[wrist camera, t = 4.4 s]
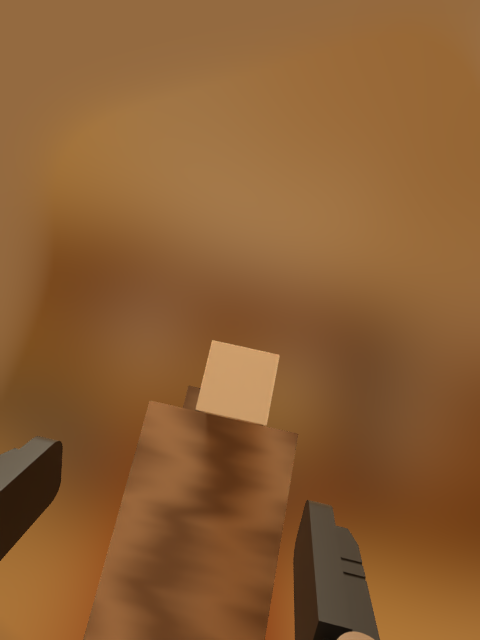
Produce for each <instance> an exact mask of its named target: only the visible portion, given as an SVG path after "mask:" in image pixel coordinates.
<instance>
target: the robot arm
mask: <svg viewBox="0 0 480 640" xmlns="http://www.w3.org/2000/svg"><path fill="white" fill-rule="evenodd" d="M61 468H62V443H61V442H60V441H57V440H52V439H49V438H44V437H40V436H37V437H35V438H33V439H32V440H31V441H29V442H28V443H27V444H25V445H24V446H23V447H22V448H20V449H16V448H15V449H12V450H10V451H8V452H5V453H4V454H1V455H0V561H1V559H2V558H3V557H4V556H5V555H6V554H7V553H8V551H9V550H10V549H11V548H12V547H13V546H14V545H15V543H16V542H17V541H18V540H19V539H20V538H21V537H22V535H23V534H24V533H25V532H26V531H27V530H28V529H29V527H30V526H31V525H32V524H33V523H34V522H35V521H36V519H37V518H38V517H39V516H40V515H41V514H42V513H43V512H44V510H45V509H46V508H47V507H48V506H49V504H51V502H52V501H53V500H54V498H55V496H56V494H57V492H58V490H59V487H60V483H61ZM293 564H294V609H295V610H294V612H295V613H294V614H295V640H380V638H379V634H378V630H377V625H376V621H375V616H374V612H373V608H372V604H371V599H370V595H369V591H368V586H367V582H366V581H365V573H364V569H363V566H362V560H361V555H360V551H359V547H358V544H357V542H356V541H355V539H354V538H353V536H352V535H351V533H350V532H349V530H348V529H347V528H343V527H339V526H335V520H334V514H333V508H332V506H330V505H326V504H322V503H318V502H313V501H309V500H307V501H306V504H305V507H304V511H303V515H302V519H301V522H300V526H299V530H298V534H297V538H296V543H295V549H294V563H293Z"/></svg>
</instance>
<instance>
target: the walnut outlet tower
mask: <svg viewBox="0 0 480 640" xmlns="http://www.w3.org/2000/svg"><path fill="white" fill-rule="evenodd" d="M200 389H201V388H197V387H192V386H189V387H188V390H187V395H186V398H185V402H184V406H183V408H180V407H176V406H171V405H167V404H162V403H158V402H154V401H150V402H149V406H148V409H147V413H146V416H145V420H144V423H143V427H142V431H141V434H140V438H139V441H138V445H137V449H136V452H135V456H134V459H133V463H132V467H131V470H130V474H129V477H128V481H127V485H126V488H125V492H124V496H123V499H122V502H121V506H120V510H119V513H118V517H117V520H116V524H115V528H114V531H113V535H112V538H111V542H110V546H109V549H108V553H107V557H106V560H105V564H104V567H103V571H102V575H101V578H100V582H99V585H98V589H97V593H96V596H95V600H94V603H93V607H92V611H91V614H90V618H89V621H88V625H87V628H86V632H85V635H84V639H83V640H265V634H266V628H267V622H268V616H269V610H270V603H271V598H272V591H273V585H274V579H275V573H276V567H277V561H278V555H279V548H280V542H281V536H282V530H283V524H284V517H285V511H286V505H287V499H288V493H289V487H290V481H291V475H292V468H293V462H294V456H295V450H296V444H297V438H298V434H297V433H292V432H288V431H283V430H279V429H274V428H270V427H265V426H263V425H261V424H253V423H248V422H243V421H239V420H234V419H230V418H225V417H221V416H216V415H212V414H207V413H204V412H201V411H199V410H196V405H197V401H198V397H199V393H200Z"/></svg>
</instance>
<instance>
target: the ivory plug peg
mask: <svg viewBox="0 0 480 640" xmlns="http://www.w3.org/2000/svg"><path fill="white" fill-rule="evenodd" d="M278 361H279V355H277V354H272V353H268V352H264V351H259V350H255V349H250V348H246V347H241V346H236V345H232V344H228V343H223V342H218V341H214V340H212V344H211V348H210V352H209V356H208V360H207V364H206V368H205V373H204V377H203V381H202V385H201V389H200V393H199V397H198V401H197V405H196V410H199V411H201V412H204V413H207V414H212V415H216V416H221V417H225V418H230V419H234V420H239V421H243V422H248V423H253V424H261V425H267V420H268V414H269V409H270V404H271V398H272V393H273V387H274V382H275V377H276V372H277V366H278Z"/></svg>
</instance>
